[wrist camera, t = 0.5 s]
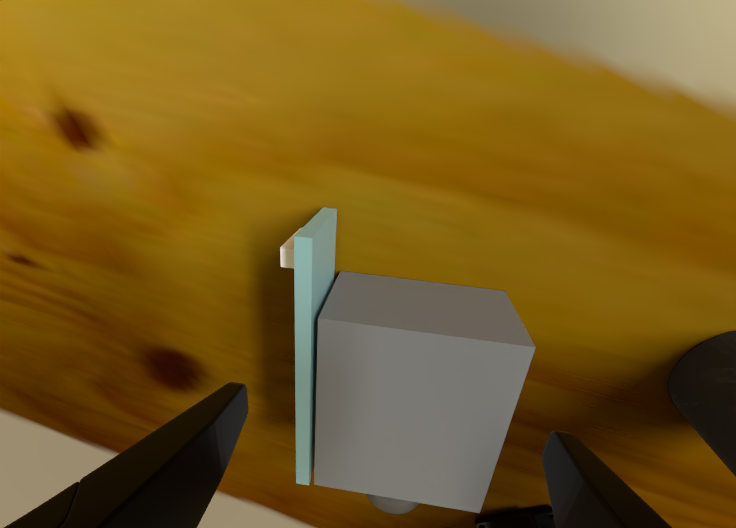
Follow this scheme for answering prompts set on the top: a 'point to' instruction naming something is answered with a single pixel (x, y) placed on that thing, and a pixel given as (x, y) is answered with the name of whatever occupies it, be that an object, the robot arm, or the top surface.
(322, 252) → the side door
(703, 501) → the top surface
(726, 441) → the travel mug
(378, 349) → the block
